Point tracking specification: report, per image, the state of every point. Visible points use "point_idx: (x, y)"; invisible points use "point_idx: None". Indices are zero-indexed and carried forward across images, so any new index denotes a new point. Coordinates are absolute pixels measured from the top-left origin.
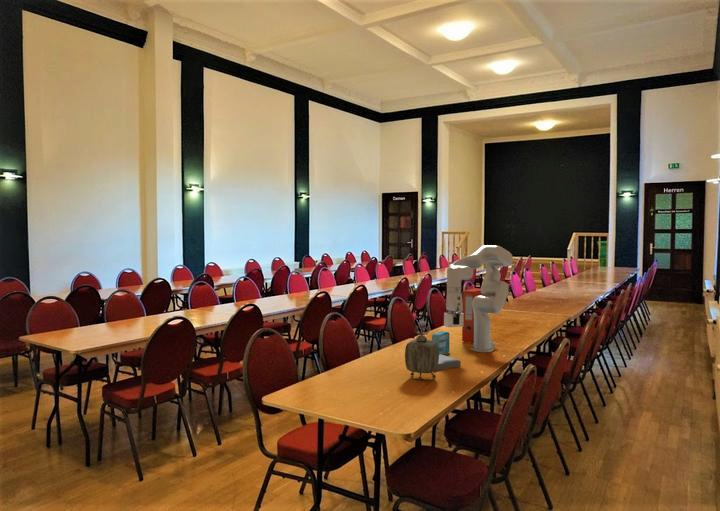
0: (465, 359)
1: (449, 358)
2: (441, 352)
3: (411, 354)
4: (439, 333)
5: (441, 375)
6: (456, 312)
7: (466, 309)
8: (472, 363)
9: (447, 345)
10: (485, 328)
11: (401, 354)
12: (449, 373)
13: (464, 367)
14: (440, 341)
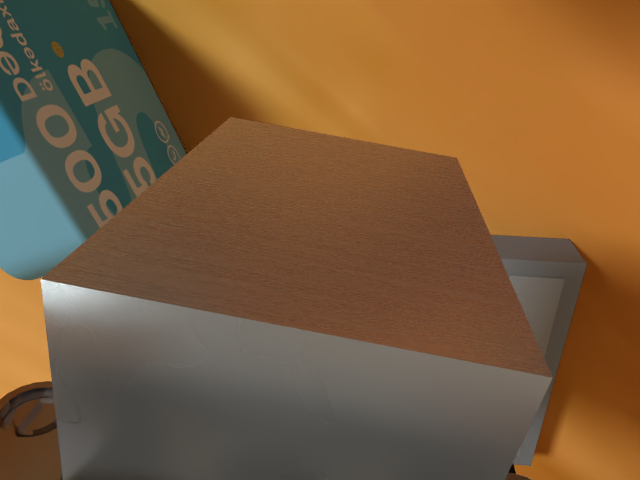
0: (417, 26)
1: None
2: (163, 132)
3: None
4: (10, 195)
5: (627, 464)
6: (140, 438)
7: None
8: (576, 77)
9: (72, 16)
10: None
11: (35, 349)
12: (636, 408)
13: (613, 232)
14: (121, 190)
